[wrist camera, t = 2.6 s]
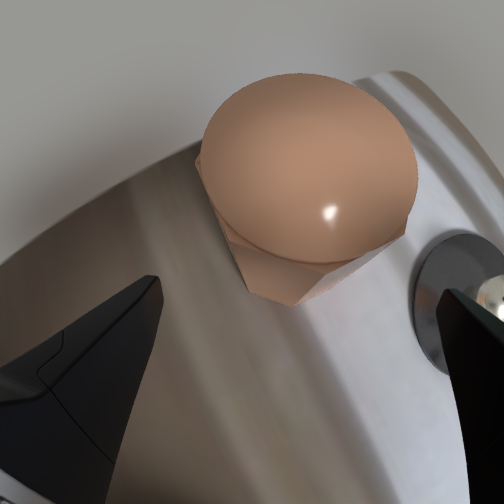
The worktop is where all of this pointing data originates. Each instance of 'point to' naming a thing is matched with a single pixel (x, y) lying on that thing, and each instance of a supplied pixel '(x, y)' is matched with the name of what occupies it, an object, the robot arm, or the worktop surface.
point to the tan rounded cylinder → (306, 182)
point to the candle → (456, 286)
